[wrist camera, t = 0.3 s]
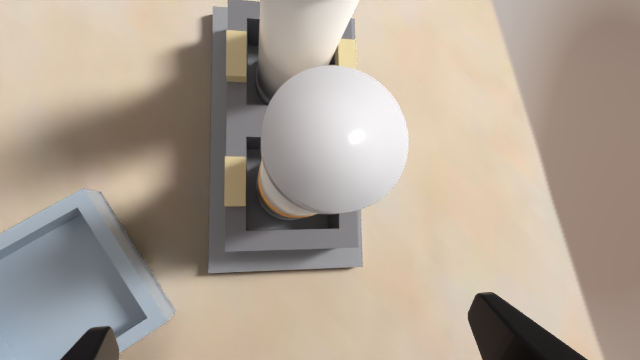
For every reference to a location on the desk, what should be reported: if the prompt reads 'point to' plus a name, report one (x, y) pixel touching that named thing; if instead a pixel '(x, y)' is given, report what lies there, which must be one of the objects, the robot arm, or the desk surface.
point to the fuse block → (245, 158)
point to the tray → (74, 281)
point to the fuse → (297, 39)
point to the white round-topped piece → (329, 144)
